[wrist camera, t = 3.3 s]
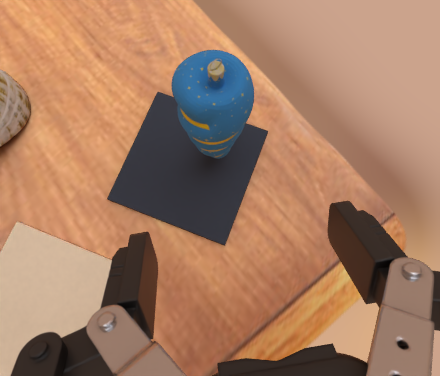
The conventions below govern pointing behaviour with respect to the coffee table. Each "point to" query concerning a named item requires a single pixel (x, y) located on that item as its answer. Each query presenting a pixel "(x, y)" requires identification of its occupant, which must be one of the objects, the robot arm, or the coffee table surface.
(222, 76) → the ornament
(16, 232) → the cream mat
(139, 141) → the slate mat
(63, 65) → the coffee table surface
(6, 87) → the seashell
